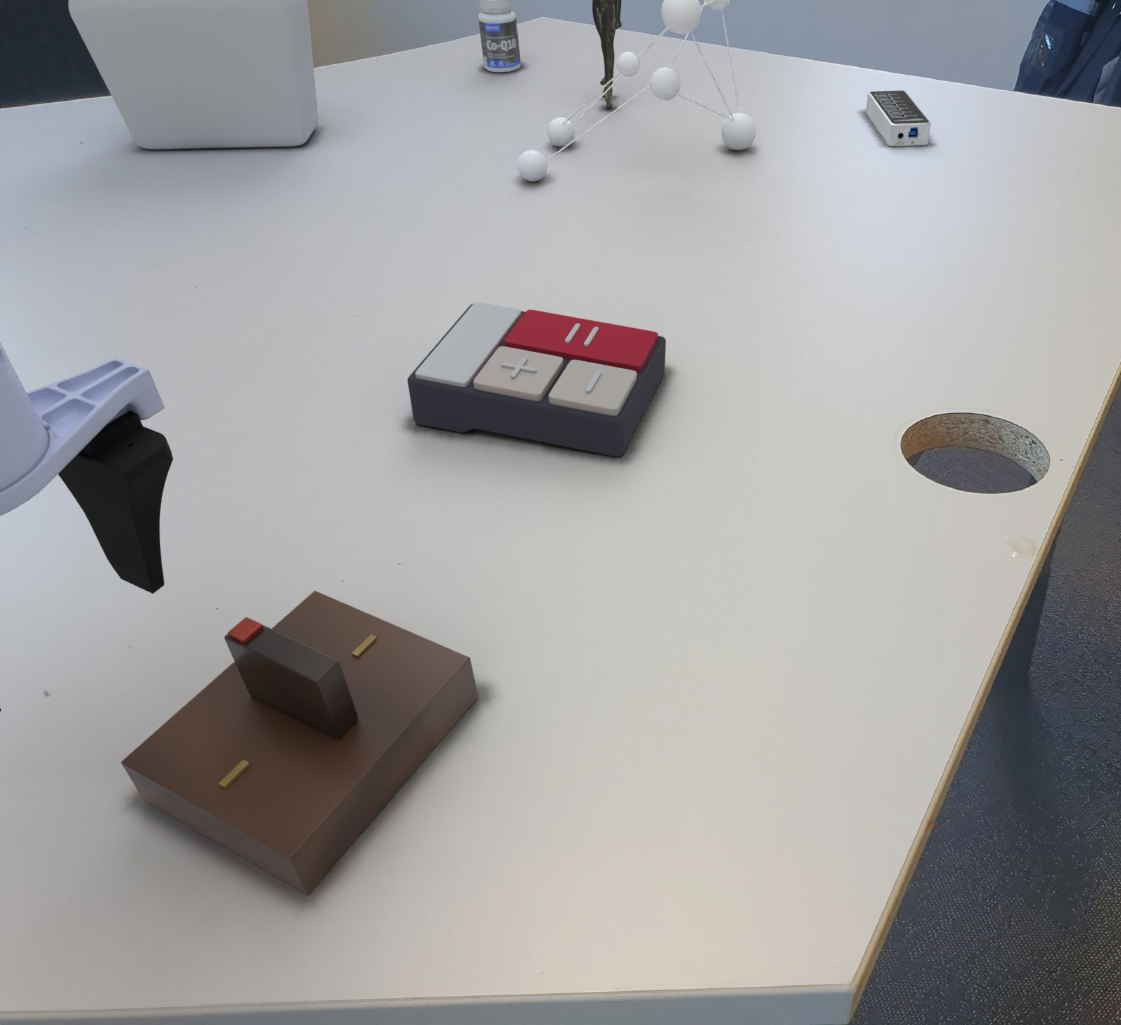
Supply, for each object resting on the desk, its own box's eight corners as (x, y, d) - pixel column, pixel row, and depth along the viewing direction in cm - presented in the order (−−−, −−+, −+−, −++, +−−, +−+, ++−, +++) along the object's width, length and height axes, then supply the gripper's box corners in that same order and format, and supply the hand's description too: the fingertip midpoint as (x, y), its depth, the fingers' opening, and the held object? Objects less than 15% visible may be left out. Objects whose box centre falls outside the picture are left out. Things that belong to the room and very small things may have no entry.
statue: (580, 112, 115) (566, -86, 102) (591, 94, 120) (579, -97, 107) (620, 114, 115) (611, -85, 102) (629, 96, 120) (622, -97, 107)
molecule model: (765, 188, 103) (776, 20, 88) (523, 209, 102) (492, 42, 87) (745, 107, 111) (752, -60, 96) (521, 125, 109) (492, -41, 95)
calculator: (622, 413, 63) (402, 370, 65) (621, 466, 65) (411, 423, 68) (668, 327, 71) (471, 292, 73) (665, 377, 73) (476, 342, 76)
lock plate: (308, 895, 42) (288, 855, 40) (144, 800, 46) (118, 759, 44) (479, 696, 50) (470, 655, 48) (328, 629, 54) (313, 587, 52)
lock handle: (359, 717, 45) (338, 656, 43) (338, 740, 44) (314, 678, 42) (271, 674, 47) (245, 612, 45) (248, 694, 46) (220, 633, 44)
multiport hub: (902, 110, 115) (905, 90, 114) (928, 145, 107) (932, 123, 106) (864, 111, 115) (867, 91, 114) (888, 146, 107) (891, 124, 105)
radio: (341, 122, 113) (283, -139, 97) (325, 149, 107) (260, -125, 91) (145, 126, 112) (53, -136, 96) (117, 153, 106) (14, -122, 90)
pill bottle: (488, 75, 126) (478, 2, 120) (481, 64, 129) (472, -7, 124) (524, 71, 127) (517, -1, 122) (517, 60, 130) (509, -10, 125)
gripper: (17, 237, 38) (144, 508, 47) (-450, 437, 28) (-179, 732, 37) (146, 277, 35) (254, 555, 44) (-318, 511, 26) (-61, 809, 35)
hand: (65, 640), depth 40 cm, fingers open, 7 cm apart
